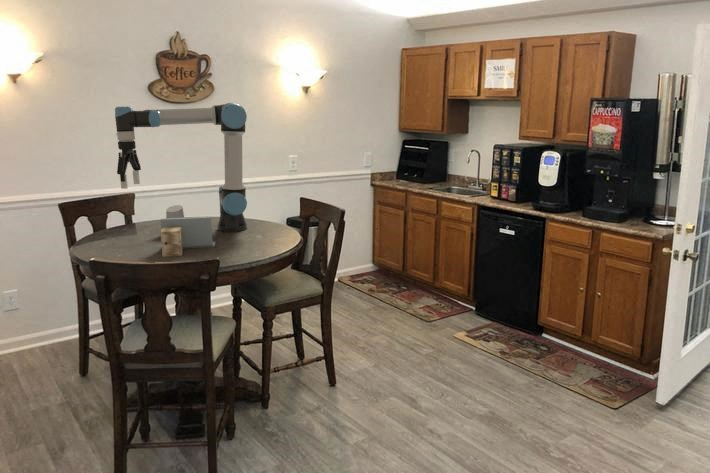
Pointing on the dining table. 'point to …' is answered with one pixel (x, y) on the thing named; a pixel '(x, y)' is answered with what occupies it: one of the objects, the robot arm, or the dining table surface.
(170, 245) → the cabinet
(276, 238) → the dining table surface
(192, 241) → the wall board
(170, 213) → the smart speaker
